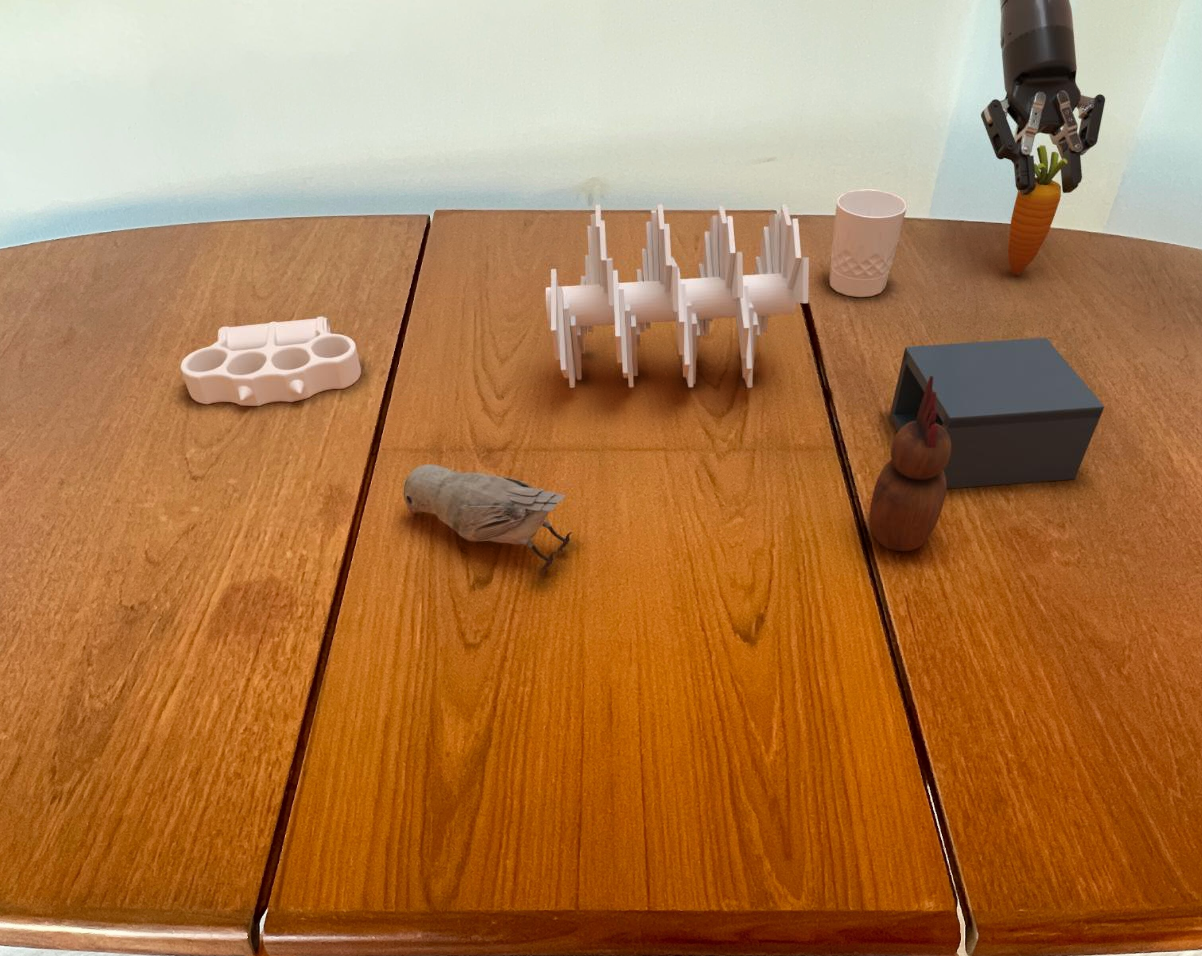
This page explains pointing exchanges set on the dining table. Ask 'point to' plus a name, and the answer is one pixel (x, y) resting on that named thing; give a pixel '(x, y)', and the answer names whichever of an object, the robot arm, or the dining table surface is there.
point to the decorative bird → (483, 505)
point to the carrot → (1034, 213)
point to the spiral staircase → (679, 293)
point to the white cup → (865, 241)
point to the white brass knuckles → (271, 363)
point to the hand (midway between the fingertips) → (1049, 190)
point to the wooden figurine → (912, 481)
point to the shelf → (1001, 409)
